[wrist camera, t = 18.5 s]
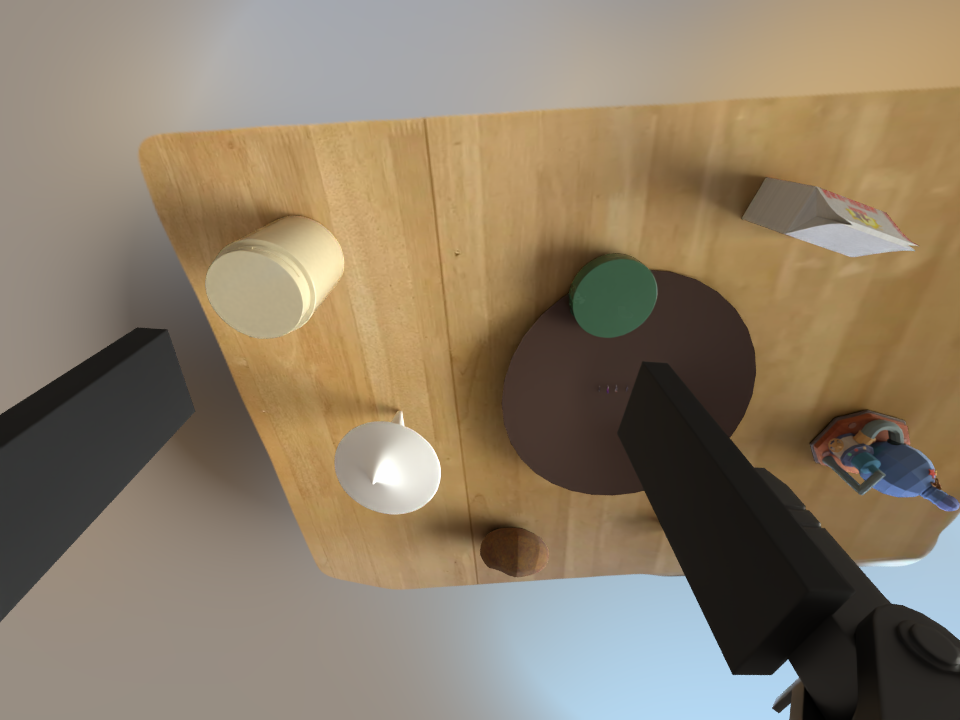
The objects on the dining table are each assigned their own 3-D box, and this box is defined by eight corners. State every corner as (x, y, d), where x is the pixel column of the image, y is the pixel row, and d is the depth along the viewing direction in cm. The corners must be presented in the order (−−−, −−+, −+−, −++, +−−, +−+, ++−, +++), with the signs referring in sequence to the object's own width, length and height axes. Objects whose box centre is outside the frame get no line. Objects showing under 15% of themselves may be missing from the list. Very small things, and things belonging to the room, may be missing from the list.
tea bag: (801, 239, 39) (896, 273, 30) (741, 218, 37) (823, 247, 29) (828, 200, 37) (938, 224, 28) (766, 177, 36) (861, 195, 27)
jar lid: (582, 341, 43) (586, 350, 41) (556, 275, 39) (560, 282, 38) (657, 310, 41) (665, 317, 40) (638, 238, 38) (646, 243, 36)
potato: (481, 517, 58) (483, 558, 52) (549, 518, 58) (557, 558, 53) (478, 546, 61) (480, 587, 56) (542, 547, 62) (550, 587, 56)
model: (922, 425, 51) (1006, 481, 43) (866, 475, 56) (933, 534, 48) (848, 403, 49) (922, 458, 41) (796, 457, 53) (854, 515, 45)
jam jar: (261, 205, 36) (195, 232, 27) (348, 228, 37) (312, 261, 28) (260, 284, 39) (202, 330, 31) (340, 303, 41) (305, 352, 32)
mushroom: (335, 401, 47) (298, 481, 36) (412, 360, 44) (395, 433, 34) (389, 457, 51) (370, 542, 41) (461, 423, 49) (460, 503, 38)
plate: (783, 265, 40) (811, 278, 37) (707, 469, 54) (722, 491, 51) (501, 273, 39) (504, 286, 36) (499, 477, 54) (501, 499, 51)
